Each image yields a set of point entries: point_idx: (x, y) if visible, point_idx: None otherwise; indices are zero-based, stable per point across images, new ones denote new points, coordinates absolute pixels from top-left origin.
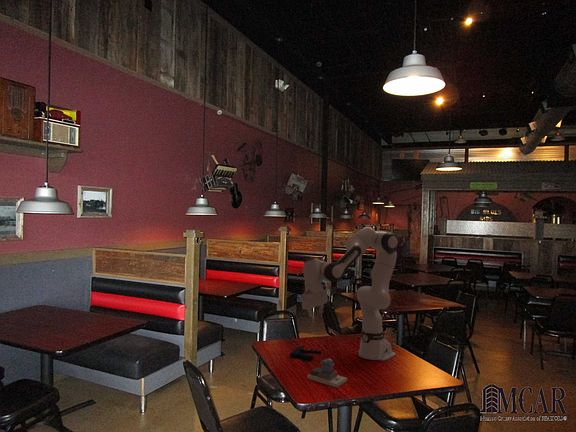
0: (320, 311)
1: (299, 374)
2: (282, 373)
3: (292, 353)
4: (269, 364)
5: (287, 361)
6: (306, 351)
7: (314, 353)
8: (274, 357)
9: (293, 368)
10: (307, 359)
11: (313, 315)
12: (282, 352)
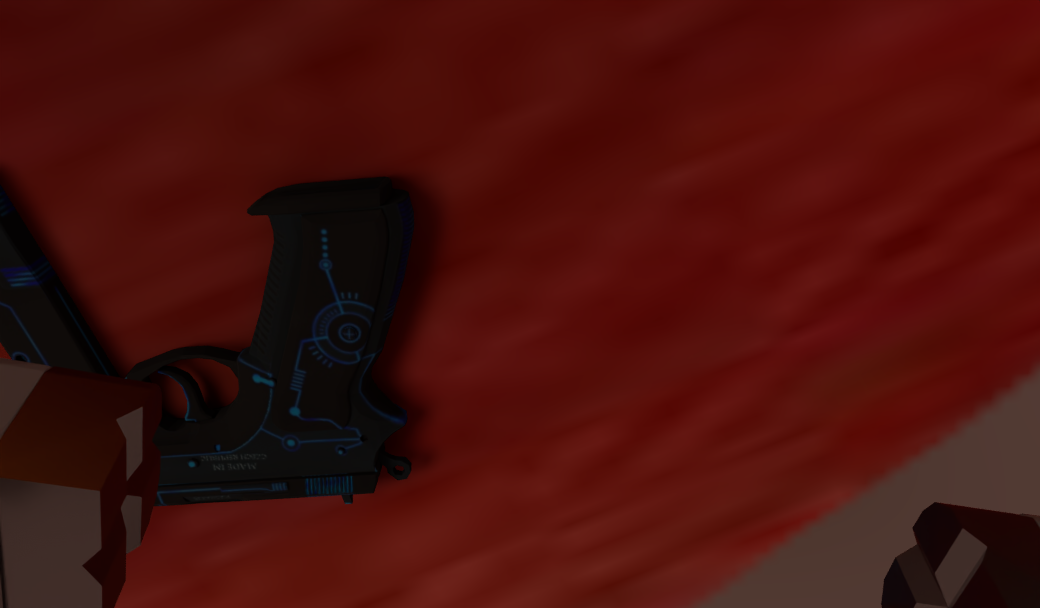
0: (122, 493)
1: (973, 116)
2: (1008, 316)
3: (365, 472)
4: (766, 554)
5: (566, 431)
6: (96, 366)
7: (41, 253)
8: (508, 604)
9: (783, 270)
10: (413, 227)
11: (968, 525)
12: (281, 604)
